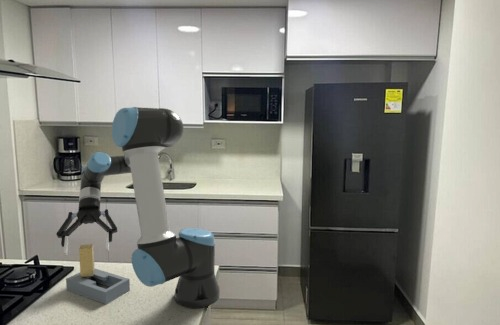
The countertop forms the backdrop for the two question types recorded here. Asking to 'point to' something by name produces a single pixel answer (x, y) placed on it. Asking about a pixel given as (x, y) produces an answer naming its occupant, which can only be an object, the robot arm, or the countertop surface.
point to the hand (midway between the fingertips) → (86, 252)
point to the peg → (87, 261)
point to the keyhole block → (97, 293)
